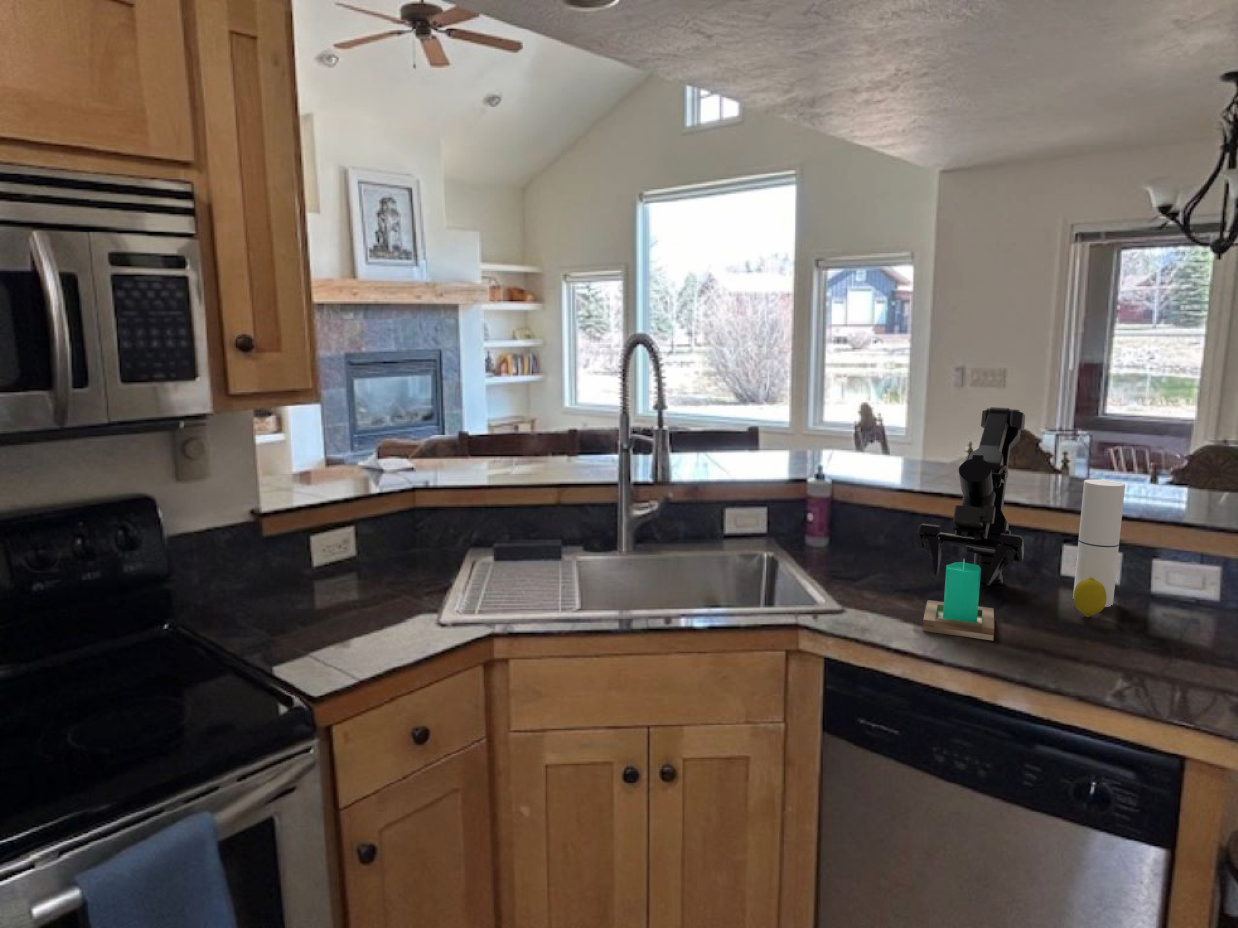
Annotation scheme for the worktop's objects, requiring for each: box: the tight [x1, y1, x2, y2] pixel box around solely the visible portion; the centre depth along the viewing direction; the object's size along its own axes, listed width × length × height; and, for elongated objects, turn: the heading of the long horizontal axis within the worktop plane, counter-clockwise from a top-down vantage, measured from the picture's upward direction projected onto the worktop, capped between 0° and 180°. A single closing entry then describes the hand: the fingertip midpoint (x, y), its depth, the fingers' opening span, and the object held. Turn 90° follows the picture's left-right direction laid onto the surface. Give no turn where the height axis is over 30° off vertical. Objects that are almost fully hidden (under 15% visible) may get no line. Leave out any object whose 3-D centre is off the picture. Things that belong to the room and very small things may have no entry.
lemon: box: [1073, 577, 1106, 618], centre depth 157 cm, size 6×6×8 cm
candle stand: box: [922, 599, 995, 642], centre depth 154 cm, size 12×12×2 cm
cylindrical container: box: [1072, 478, 1126, 608], centre depth 165 cm, size 7×7×25 cm
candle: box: [943, 558, 981, 623], centre depth 153 cm, size 6×6×12 cm
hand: (961, 580), depth 152 cm, fingers open, 9 cm apart
